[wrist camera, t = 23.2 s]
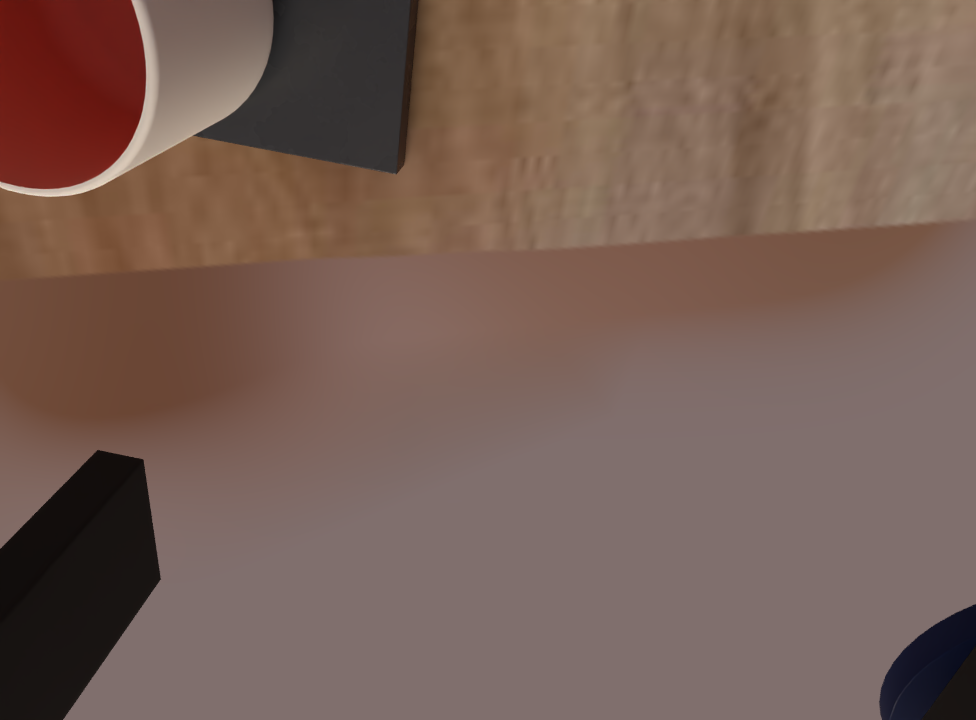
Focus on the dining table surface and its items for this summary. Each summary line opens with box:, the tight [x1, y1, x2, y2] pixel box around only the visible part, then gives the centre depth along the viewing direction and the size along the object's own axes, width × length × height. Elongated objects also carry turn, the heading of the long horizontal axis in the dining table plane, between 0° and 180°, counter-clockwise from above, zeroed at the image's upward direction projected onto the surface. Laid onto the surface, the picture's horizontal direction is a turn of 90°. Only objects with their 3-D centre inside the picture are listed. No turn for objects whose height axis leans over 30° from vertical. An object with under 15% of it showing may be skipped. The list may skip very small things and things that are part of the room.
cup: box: [0, 0, 274, 197], centre depth 26 cm, size 10×10×10 cm
